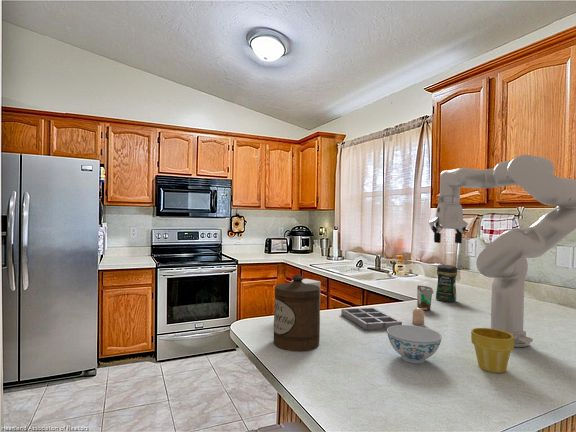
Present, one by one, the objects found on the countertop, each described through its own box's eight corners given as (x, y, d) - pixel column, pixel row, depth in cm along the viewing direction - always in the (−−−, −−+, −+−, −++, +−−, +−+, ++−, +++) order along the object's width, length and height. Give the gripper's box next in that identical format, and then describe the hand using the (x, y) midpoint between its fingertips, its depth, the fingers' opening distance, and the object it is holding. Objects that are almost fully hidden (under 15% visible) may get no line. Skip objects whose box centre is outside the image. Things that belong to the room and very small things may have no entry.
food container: (435, 313, 158) (436, 290, 158) (421, 312, 159) (421, 289, 159) (430, 306, 170) (430, 285, 170) (416, 305, 171) (417, 285, 171)
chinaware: (398, 346, 114) (398, 322, 114) (447, 358, 105) (448, 332, 105) (377, 359, 102) (378, 332, 103) (431, 374, 93) (431, 345, 93)
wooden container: (267, 337, 119) (269, 272, 119) (308, 334, 124) (309, 270, 124) (282, 353, 105) (284, 279, 105) (327, 348, 110) (329, 277, 110)
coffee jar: (433, 300, 185) (434, 264, 185) (439, 297, 191) (439, 263, 191) (453, 303, 179) (454, 266, 179) (458, 301, 184) (459, 265, 185)
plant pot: (465, 367, 98) (465, 332, 99) (477, 358, 106) (478, 325, 106) (507, 380, 91) (508, 341, 91) (518, 369, 98) (518, 333, 98)
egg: (426, 325, 139) (426, 309, 139) (416, 325, 138) (417, 309, 138) (419, 321, 143) (420, 306, 143) (410, 322, 142) (410, 306, 142)
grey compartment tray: (401, 328, 133) (402, 321, 133) (365, 330, 129) (365, 323, 129) (373, 313, 154) (373, 307, 154) (341, 314, 150) (341, 308, 151)
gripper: (436, 199, 139) (434, 243, 139) (474, 201, 143) (472, 244, 143) (425, 200, 147) (423, 241, 147) (461, 202, 150) (459, 242, 150)
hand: (447, 242), depth 145 cm, fingers open, 9 cm apart
